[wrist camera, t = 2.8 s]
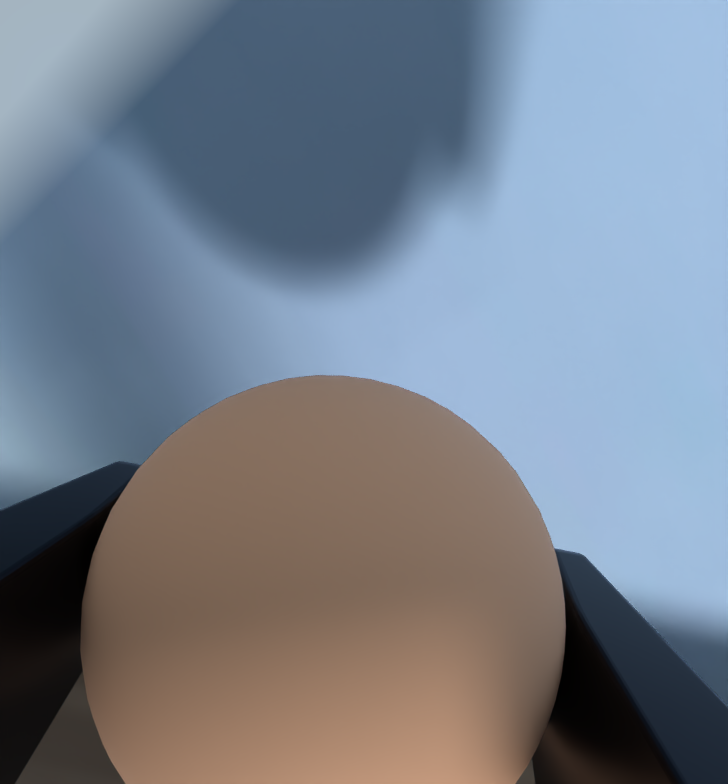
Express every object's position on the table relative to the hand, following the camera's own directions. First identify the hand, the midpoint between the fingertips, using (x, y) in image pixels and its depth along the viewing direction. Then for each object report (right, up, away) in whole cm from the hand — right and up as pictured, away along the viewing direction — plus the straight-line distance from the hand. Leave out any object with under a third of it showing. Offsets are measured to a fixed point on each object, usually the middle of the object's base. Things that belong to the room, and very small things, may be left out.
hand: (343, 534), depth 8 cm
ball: (0, -1, -1) cm, 1 cm away
